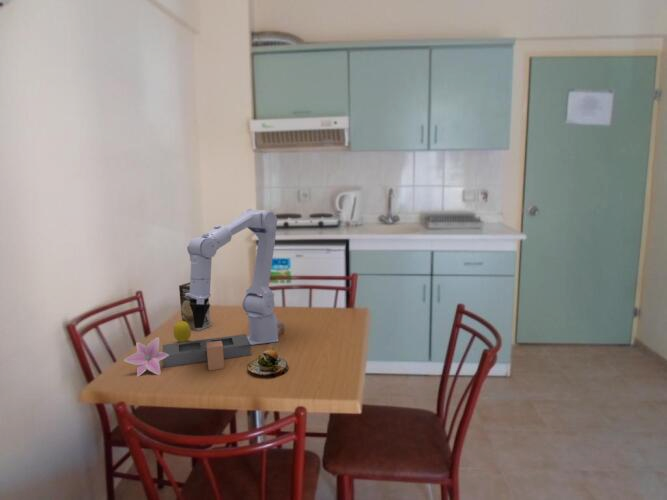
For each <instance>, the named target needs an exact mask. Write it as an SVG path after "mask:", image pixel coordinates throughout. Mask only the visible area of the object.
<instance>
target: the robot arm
mask: <svg viewBox="0 0 667 500" xmlns="http://www.w3.org/2000/svg"><path fill="white" fill-rule="evenodd" d="M277 223H278V217H277V216H276V213H275V212H274V211H273V210H272V209H271V210H270V209H252V208H249V209H247V210H244V211H242V212H241V215H239V216H238V217H236V218H235V219H233V220H232V221H231V222H229V223H228V224H227V225H221V224H220V225H216V224H215V226H213V229H212V230H210V231H208V232H203V234H202V236H201V237H199V236H198V237H194V238H192V239H191V240H190V241H189V243H188V246H187V247H186V248H187V249H186V250H187V252H188V254H189V261H190V275H189V276H190V279H189V280H190V281H189V282H190V293H185V296H189V297H192V298H190V299H189V301H190V307H191V309H192V312H193V319H194V326H195V328H202V327H203V324H204V320H205V316H206V313H207V311H208V309H209V310H210V307H211V304H210V303H209V304H207V302H208V300H209V301H210V299H208V298H210V297H211V277H212V276H211V275H212V258H213V257H215V255H216V254H217V252H218V250H219V249H220V248H222V247H225V245H227V244H229V242H231V241H232V237H233V235H236V234H238V233H239V232H242V230H245V229H246V228H247V229H248V230H249V231H250V232H252V233H253V234H254V235H255V236H256V237H257V239H258V241H257V249H256V250H257V251H256V256H255V257H256V258H255V265H254V272H253V277H252V285H251V286H250V287H249V288H247V289H246V290H245V295H244V297H243V300H242V303H241V306H242V310H244V312H246V315H247V318H248V331H249V332H248V336H247V335H246V336H247V338H248V340H249V343H250V346H253V345H262V344H267V343H268V344H269V343H270V344H271V343H275V342H276V343H277V342H279V334H278V333H279V330H278V319H277V313H275V312H274V309H275V299H274V298H275V294H274V292H273V291H272V290H271V288H270V279H271V272H272V271H271V270H272V265H273V257H274V250H275V243H276V232H277Z"/></svg>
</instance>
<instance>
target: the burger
mask: <svg viewBox="0 0 667 500" xmlns="http://www.w3.org/2000/svg"><path fill="white" fill-rule="evenodd" d="M274 346H275V345H273V346H272V349H267V350H264V351H263V353H262V354H263V357H262V356H261V355H260V354H259V355H258V357H257V359H254V360H252V361H250V362H249V363H248V364H247V365H246V369H247V370H248V371H249V372H250V373H252V374H256V375H259V376H269V375H272V376H273V375H274V377H275V378H276V377H280V376H282V372H284V373H287V372H288V369H289V366H288V362H287V360H285V359H283V358H280V357H279V355H278V353H277V351H275V350H273V349H274Z"/></svg>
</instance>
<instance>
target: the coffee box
mask: <svg viewBox="0 0 667 500" xmlns="http://www.w3.org/2000/svg"><path fill="white" fill-rule="evenodd" d="M178 288H179V289H178V290H179V299H180V300H179V301H180V314H181V320H182V321H185V322H187V323H188V324H189V326H190V329H191V330H193V331H197V332H199V331H202V330H204V329H207V328H209V327H211V313H210V308H209V309H208V311H207V313H206V316H205V320H204V324H203V327H202V328H195V326H194V319H193V312H192V309H191V307H190V301H189V299H190V298H192V297H189V296H185V293H190V281H189V282H187V283H183V284H180V285H178ZM209 298H210V297H209ZM209 298H208V299H209ZM207 304H210V299H209V300H208V302H207Z"/></svg>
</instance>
